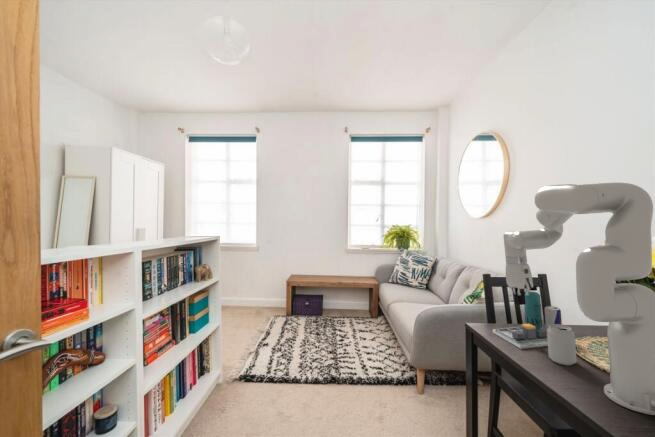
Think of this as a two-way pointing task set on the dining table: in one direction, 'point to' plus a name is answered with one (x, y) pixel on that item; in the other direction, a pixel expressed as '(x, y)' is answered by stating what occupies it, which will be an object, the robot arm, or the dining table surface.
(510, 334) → the panel
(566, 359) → the can
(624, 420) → the dining table surface
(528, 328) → the handle
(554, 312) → the energy drink
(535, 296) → the beverage bottle
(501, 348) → the dining table surface
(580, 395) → the dining table surface
